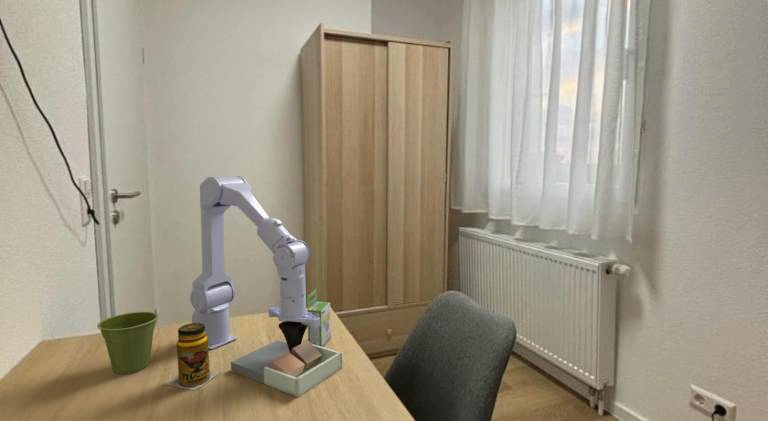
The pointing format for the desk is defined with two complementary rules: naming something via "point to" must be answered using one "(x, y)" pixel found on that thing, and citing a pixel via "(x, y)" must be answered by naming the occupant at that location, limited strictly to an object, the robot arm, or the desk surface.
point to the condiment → (192, 358)
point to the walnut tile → (307, 354)
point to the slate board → (259, 360)
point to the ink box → (322, 311)
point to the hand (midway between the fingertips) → (294, 351)
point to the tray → (305, 374)
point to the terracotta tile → (288, 365)
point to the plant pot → (129, 340)
